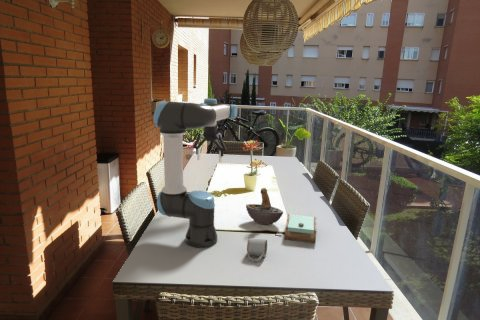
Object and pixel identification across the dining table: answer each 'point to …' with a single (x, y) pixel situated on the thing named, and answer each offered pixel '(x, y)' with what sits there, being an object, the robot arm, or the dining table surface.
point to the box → (300, 234)
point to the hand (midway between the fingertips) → (209, 160)
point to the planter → (264, 210)
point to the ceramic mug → (257, 248)
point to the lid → (301, 224)
